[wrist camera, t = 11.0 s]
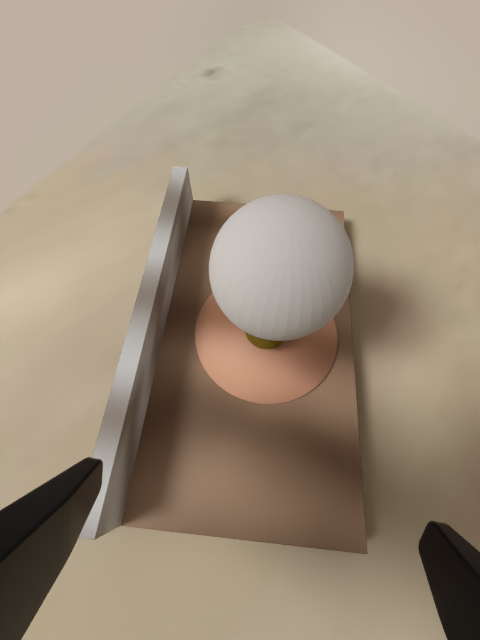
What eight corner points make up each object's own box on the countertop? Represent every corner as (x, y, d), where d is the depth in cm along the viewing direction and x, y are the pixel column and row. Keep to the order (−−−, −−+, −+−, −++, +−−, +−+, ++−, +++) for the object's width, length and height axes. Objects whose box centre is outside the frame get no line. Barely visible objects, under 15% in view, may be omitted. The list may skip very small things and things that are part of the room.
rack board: (356, 546, 16) (397, 575, 12) (112, 518, 16) (69, 536, 12) (337, 224, 25) (356, 178, 21) (183, 213, 26) (173, 166, 22)
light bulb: (289, 398, 17) (347, 328, 8) (201, 353, 18) (166, 249, 9) (325, 316, 20) (401, 191, 11) (244, 280, 21) (250, 140, 12)
